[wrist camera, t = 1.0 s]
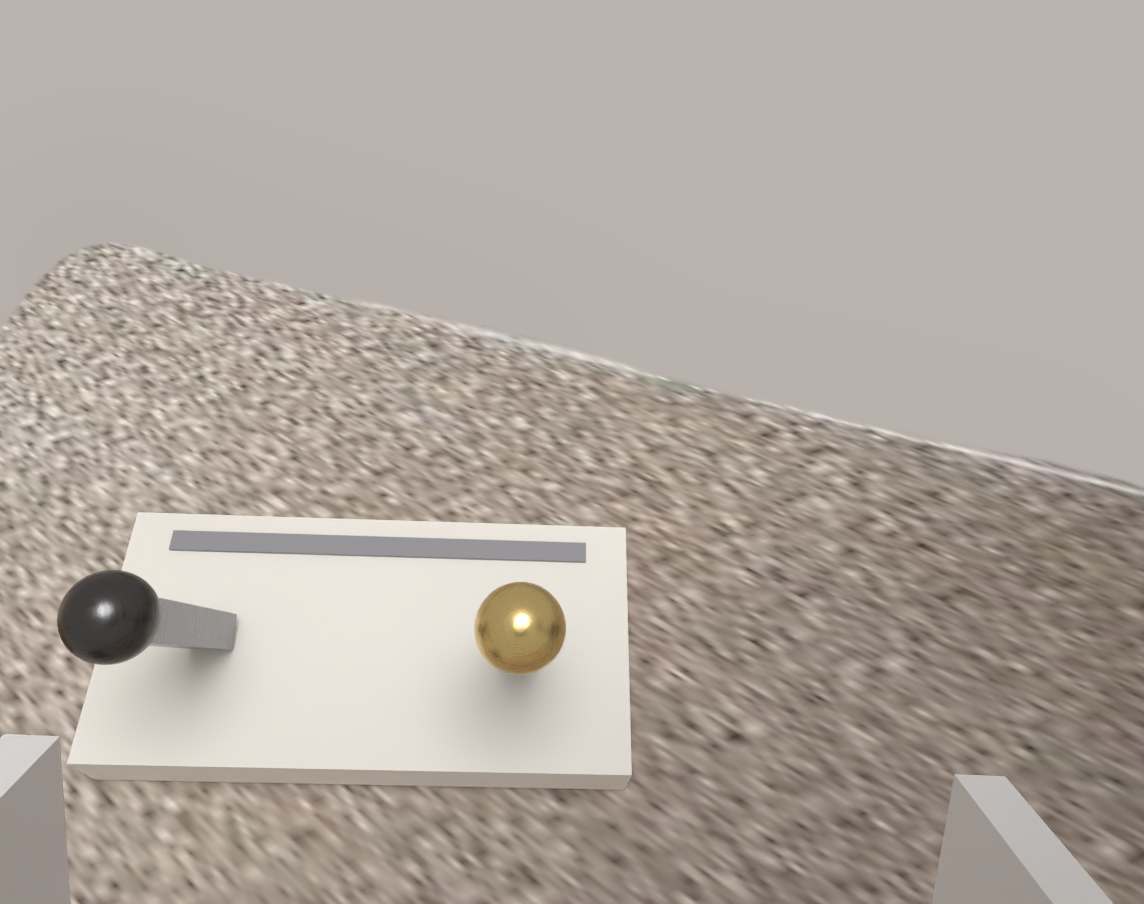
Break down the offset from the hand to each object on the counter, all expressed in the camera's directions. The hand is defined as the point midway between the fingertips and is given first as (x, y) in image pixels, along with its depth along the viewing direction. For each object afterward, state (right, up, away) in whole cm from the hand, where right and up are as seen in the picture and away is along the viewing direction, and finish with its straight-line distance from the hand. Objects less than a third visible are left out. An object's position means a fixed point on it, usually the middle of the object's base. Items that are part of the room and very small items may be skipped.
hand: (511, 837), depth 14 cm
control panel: (-9, -4, +32) cm, 33 cm away
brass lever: (-2, -3, +30) cm, 30 cm away
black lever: (-16, -3, +29) cm, 33 cm away
